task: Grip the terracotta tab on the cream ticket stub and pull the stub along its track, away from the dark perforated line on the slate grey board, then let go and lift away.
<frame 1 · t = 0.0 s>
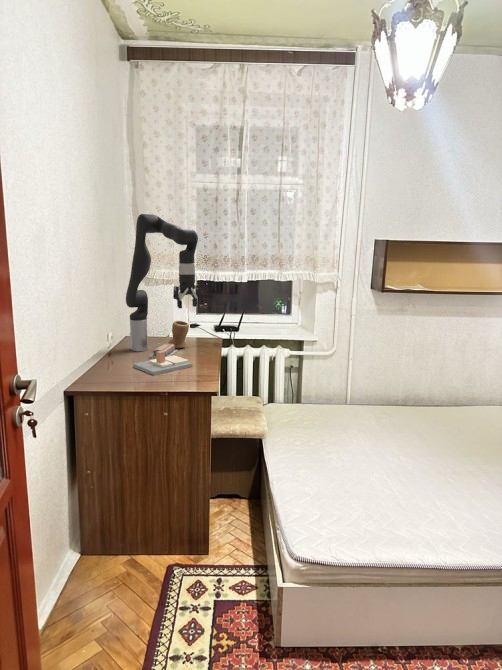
hand: (187, 307, 210), 29 cm above the table, tool pointing down, fingers open, 8 cm apart
packaged product: (164, 355, 238), on the table
brown hollow piece: (178, 346, 256), on the table
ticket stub: (160, 357, 214), point 5 cm above the table, slide at 0.0 cm
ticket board: (164, 366, 216), on the table
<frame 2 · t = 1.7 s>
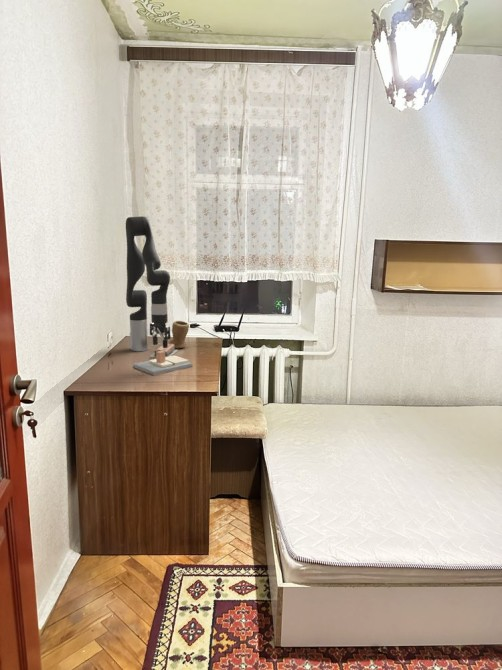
hand: (160, 346, 212), 10 cm above the table, tool pointing down, fingers open, 8 cm apart
nothing on the table moved.
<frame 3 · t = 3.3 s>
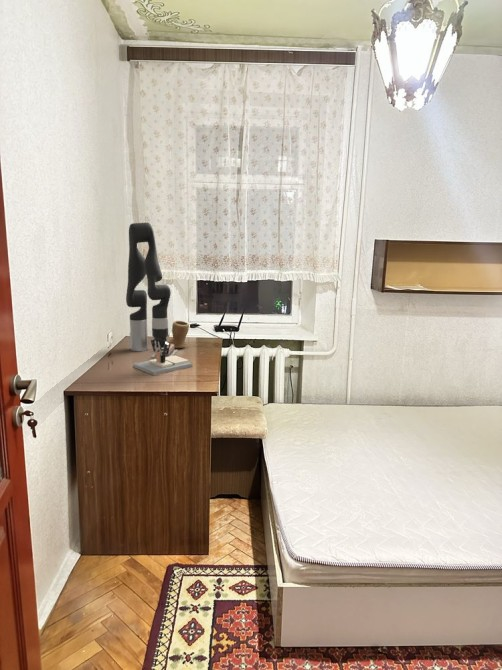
hand: (160, 361, 214), 3 cm above the table, tool pointing down, fingers closed on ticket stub, 3 cm apart
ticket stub: (160, 357, 214), point 5 cm above the table, slide at 0.0 cm, touching gripper
everything else where it was.
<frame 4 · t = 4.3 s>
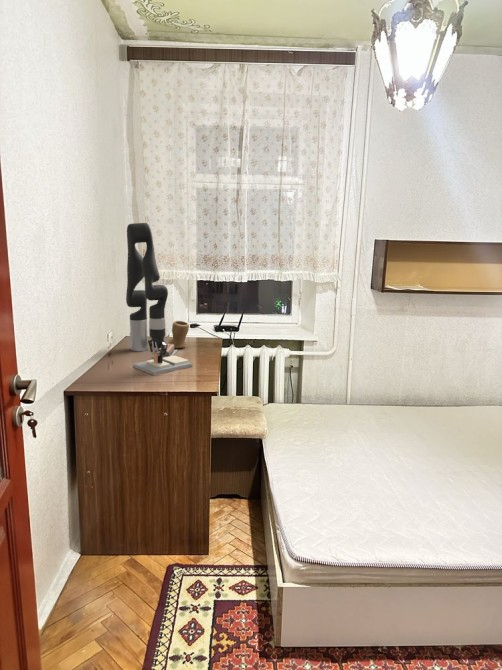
hand: (158, 362, 213), 3 cm above the table, tool pointing down, fingers closed on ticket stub, 3 cm apart
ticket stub: (158, 358, 213), point 5 cm above the table, slide at 1.5 cm, touching gripper
everything else where it was.
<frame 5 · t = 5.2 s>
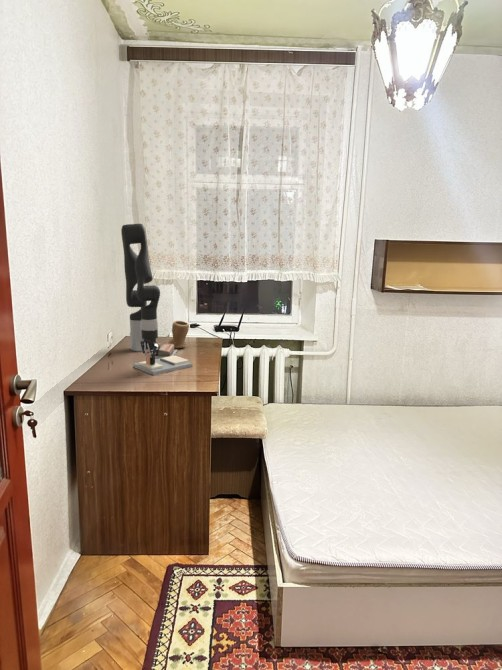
hand: (150, 363, 210), 3 cm above the table, tool pointing down, fingers closed on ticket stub, 3 cm apart
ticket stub: (150, 359, 210), point 5 cm above the table, slide at 5.8 cm, touching gripper
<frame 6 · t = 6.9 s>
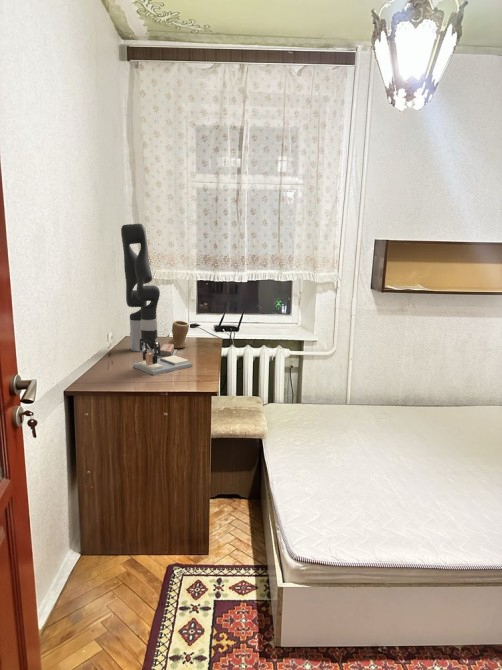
hand: (150, 361, 210), 4 cm above the table, tool pointing down, fingers open, 8 cm apart
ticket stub: (150, 359, 210), point 5 cm above the table, slide at 5.9 cm
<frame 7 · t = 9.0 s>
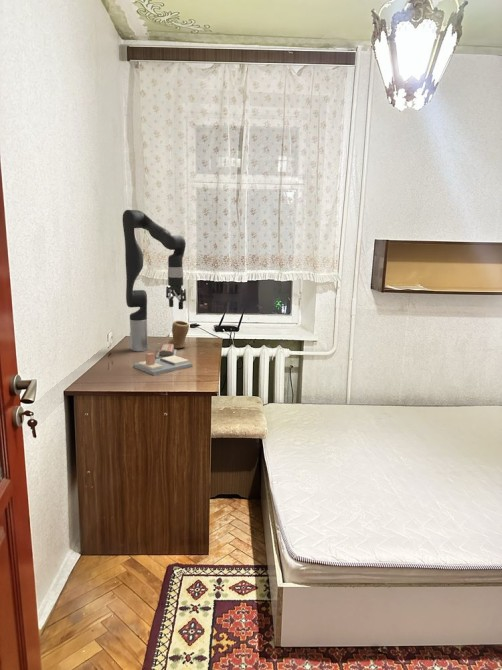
hand: (176, 308, 225), 27 cm above the table, tool pointing down, fingers open, 8 cm apart
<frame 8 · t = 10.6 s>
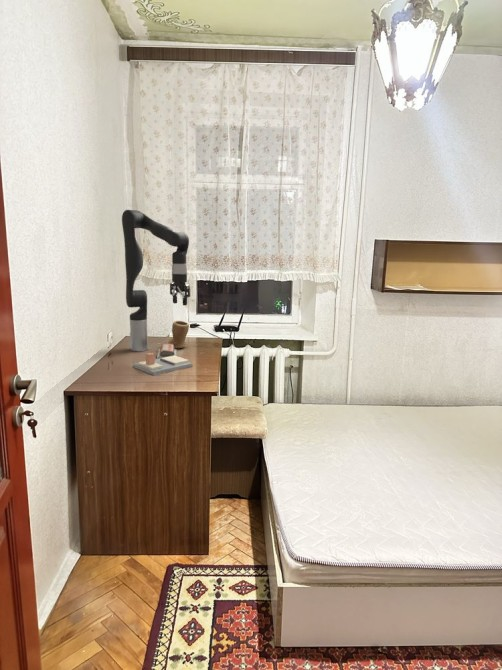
hand: (179, 304, 227), 28 cm above the table, tool pointing down, fingers open, 8 cm apart
at the end: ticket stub slide at 5.9 cm; the gripper is holding nothing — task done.
